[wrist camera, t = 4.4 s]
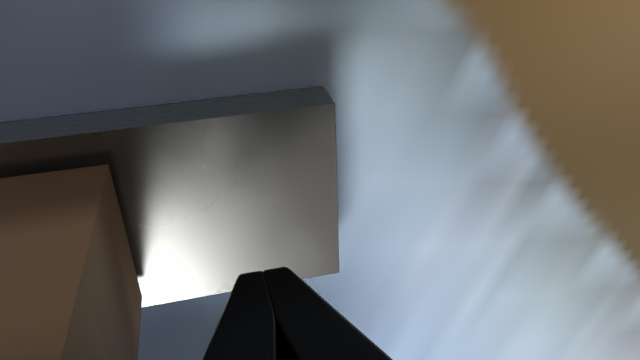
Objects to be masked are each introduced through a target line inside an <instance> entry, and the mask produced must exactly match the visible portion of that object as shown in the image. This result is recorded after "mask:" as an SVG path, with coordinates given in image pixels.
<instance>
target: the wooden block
mask: <svg viewBox="0 0 640 360" xmlns="http://www.w3.org/2000/svg"><path fill="white" fill-rule="evenodd" d="M141 308H142V294H141V290H140V286H139V282H138V278H137V274H136V270H135V266H134V262H133V259H132V255H131V251H130V247H129V243H128V239H127V235H126V231H125V227H124V223H123V219H122V215H121V211H120V208H119V204H118V200H117V196H116V192H115V188H114V184H113V180H112V176H111V172H110V168H109V164H107V165H99V166H92V167H84V168H76V169H69V170H61V171H53V172H45V173H38V174H30V175H22V176H15V177H7V178H0V360H137V355H138V343H139V331H140V320H141Z"/></svg>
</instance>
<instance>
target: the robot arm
mask: <svg viewBox="0 0 640 360" xmlns="http://www.w3.org/2000/svg"><path fill="white" fill-rule="evenodd" d="M203 360H392V359H391V358H390V357H389V356H388V355H387V354H386V353H384V352H383V351H382V350H381V349H380V348H379V347H378V346H376V345H375V344H374V343H373V342H372V341H371V340H370V339H369V338H367V337H366V336H365V335H364V334H363V333H362V332H361V331H359V330H358V329H357V328H356V327H355V326H354V325H353V324H352V323H350V322H349V321H348V320H347V319H346V318H345V317H344V316H342V315H341V314H340V313H339V312H338V311H337V310H336V309H335V308H333V307H332V306H331V305H330V304H329V303H328V302H327V301H325V300H324V299H323V298H322V297H321V296H320V295H319V294H317V293H316V292H315V291H314V290H313V289H312V288H311V287H310V286H308V285H307V284H306V283H305V282H304V281H303V280H302V279H300V278H299V277H298V276H297V275H296V274H295V273H294V272H293V271H291V270H290V269H289V268H287V267H279V268H273V269H267V270H264V271H255V272H249V273H243V274H240V275H239V276H238V277H237V279H236V282H235V284H234V287H233V289H232V291H231V294H230V296H229V298H228V301H227V303H226V306H225V308H224V310H223V313H222V315H221V317H220V320H219V322H218V325H217V327H216V329H215V332H214V334H213V336H212V339H211V341H210V344H209V346H208V348H207V351H206V353H205V355H204V358H203Z"/></svg>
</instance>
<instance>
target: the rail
mask: <svg viewBox="0 0 640 360" xmlns="http://www.w3.org/2000/svg"><path fill="white" fill-rule="evenodd" d="M107 164H109V168H110V172H111V176H112V180H113V184H114V188H115V192H116V196H117V200H118V204H119V208H120V211H121V215H122V219H123V223H124V227H125V231H126V235H127V239H128V243H129V247H130V251H131V255H132V259H133V262H134V266H135V270H136V274H137V278H138V282H139V286H140V290H141V294H142V307H146V306H152V305H157V304H163V303H169V302H174V301H180V300H186V299H191V298H197V297H203V296H208V295H214V294H219V293H225V292H231V291H232V289H233V287H234V284H235V282H236V279H237V277H238V276H239V275H240V274H243V273H249V272H255V271H264V270H267V269H273V268H279V267H287V268H289V269H290V270H291V271H293V272H294V273H295V274H296V275H297V276H298V277H299V278H300V279H304V278H310V277H315V276H321V275H327V274H332V273H338V272H339V245H338V204H337V164H336V123H335V103H334V101H333V100H332V99H331V97H330V96H329V94H328V93H327V92H326V90H325V89H324V87H323V86H322V87H313V88H305V89H296V90H287V91H278V92H269V93H260V94H252V95H243V96H234V97H225V98H216V99H207V100H199V101H190V102H181V103H172V104H163V105H154V106H146V107H137V108H128V109H119V110H110V111H101V112H92V113H84V114H75V115H66V116H57V117H48V118H39V119H31V120H22V121H13V122H4V123H0V178H7V177H15V176H22V175H30V174H38V173H45V172H53V171H61V170H69V169H76V168H84V167H92V166H99V165H107Z"/></svg>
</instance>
